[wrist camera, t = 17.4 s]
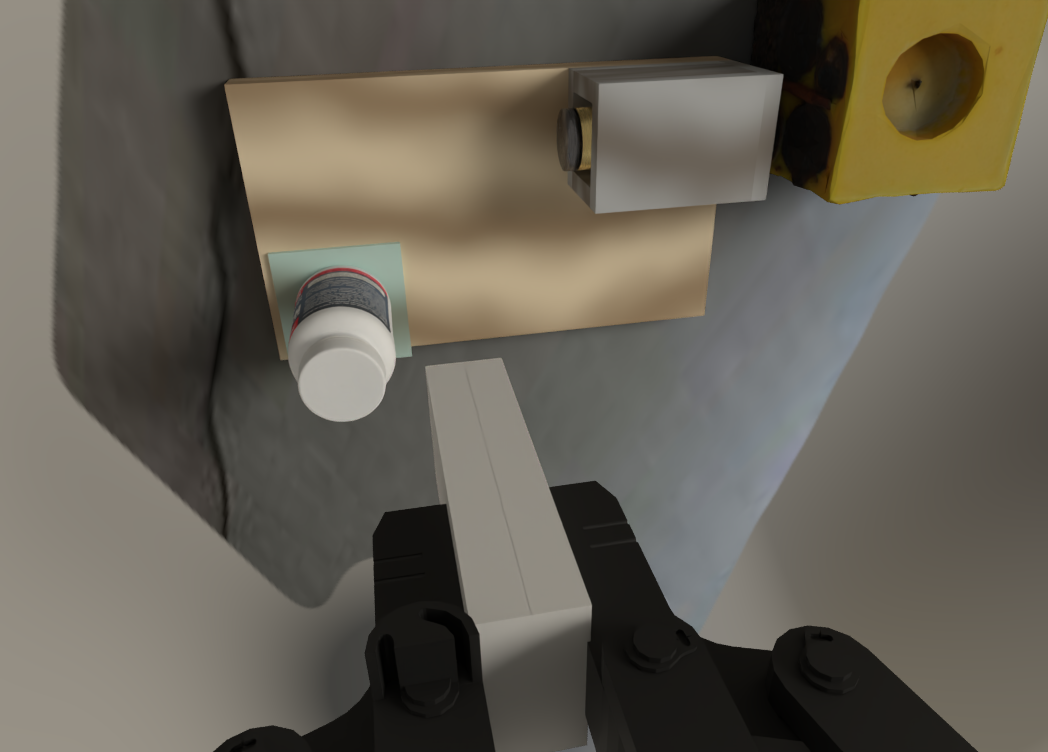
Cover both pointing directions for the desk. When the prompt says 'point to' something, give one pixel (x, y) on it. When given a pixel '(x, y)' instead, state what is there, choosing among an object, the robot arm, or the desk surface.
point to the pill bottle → (342, 343)
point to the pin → (574, 138)
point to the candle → (897, 92)
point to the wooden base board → (503, 189)
